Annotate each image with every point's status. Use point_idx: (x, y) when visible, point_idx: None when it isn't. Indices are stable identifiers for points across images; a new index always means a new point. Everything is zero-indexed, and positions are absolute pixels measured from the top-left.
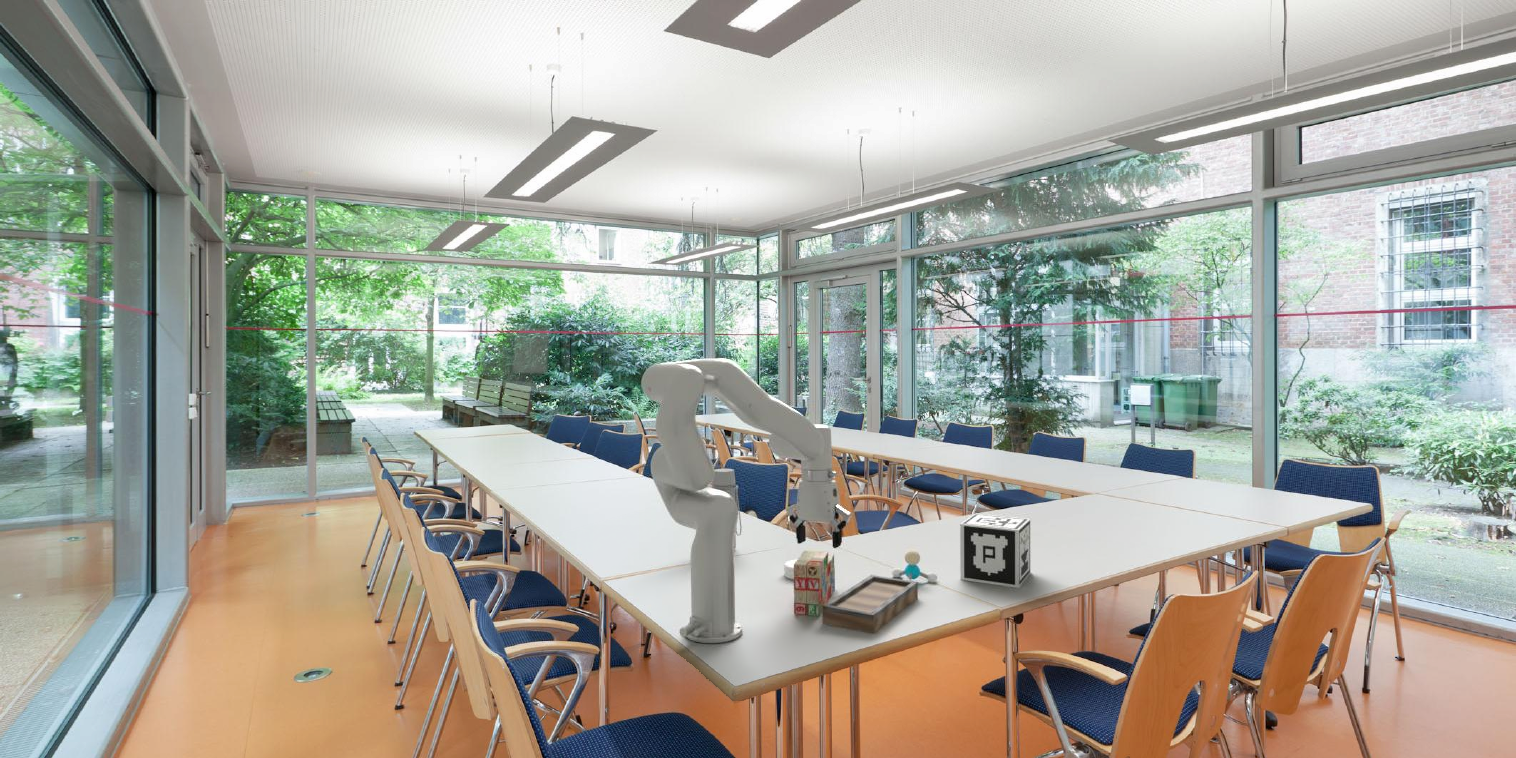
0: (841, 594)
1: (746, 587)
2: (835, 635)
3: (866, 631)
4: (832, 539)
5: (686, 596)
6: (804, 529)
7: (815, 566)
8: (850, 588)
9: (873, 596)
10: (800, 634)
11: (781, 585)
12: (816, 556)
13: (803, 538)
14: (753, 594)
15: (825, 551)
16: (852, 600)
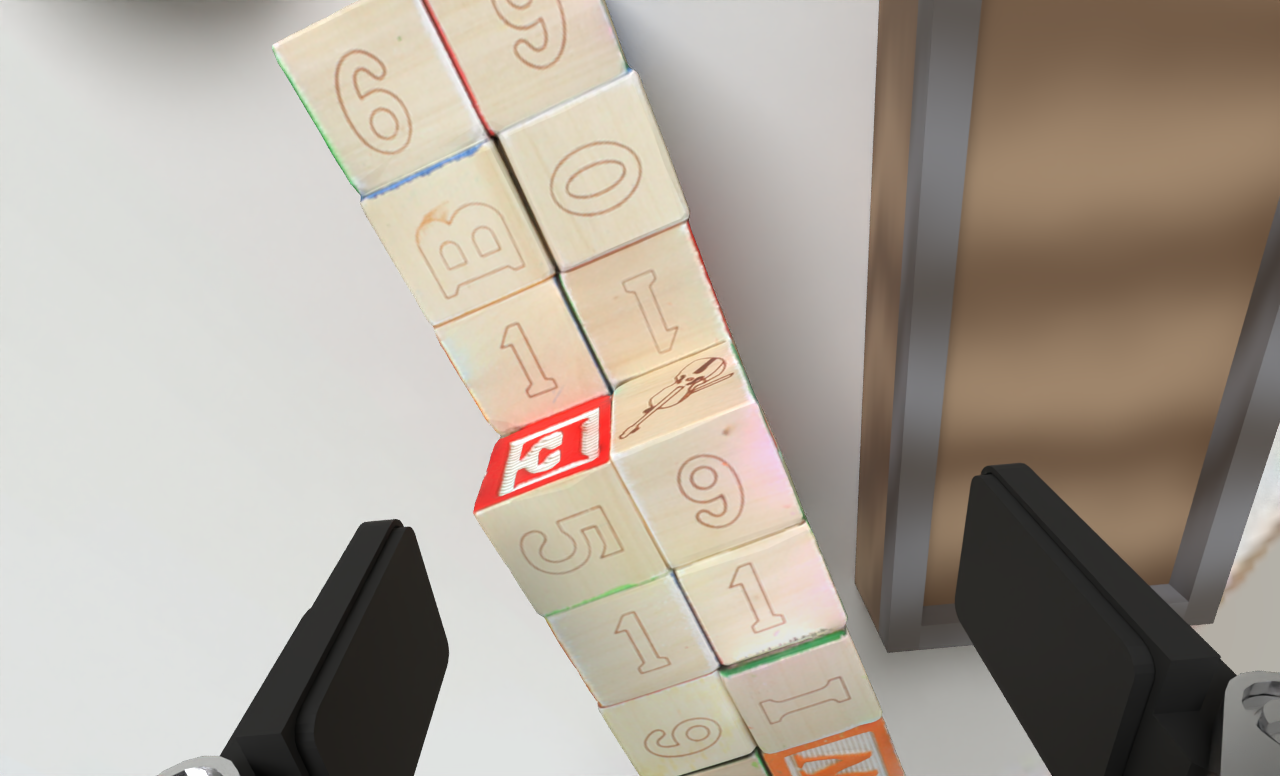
0: (911, 439)
1: (66, 357)
2: (972, 656)
3: None
4: (1012, 707)
5: (3, 658)
6: (349, 697)
7: None
8: (919, 284)
9: (1100, 255)
10: None
11: (195, 165)
12: (743, 623)
13: (414, 613)
14: (229, 440)
15: (726, 415)
16: (981, 413)
